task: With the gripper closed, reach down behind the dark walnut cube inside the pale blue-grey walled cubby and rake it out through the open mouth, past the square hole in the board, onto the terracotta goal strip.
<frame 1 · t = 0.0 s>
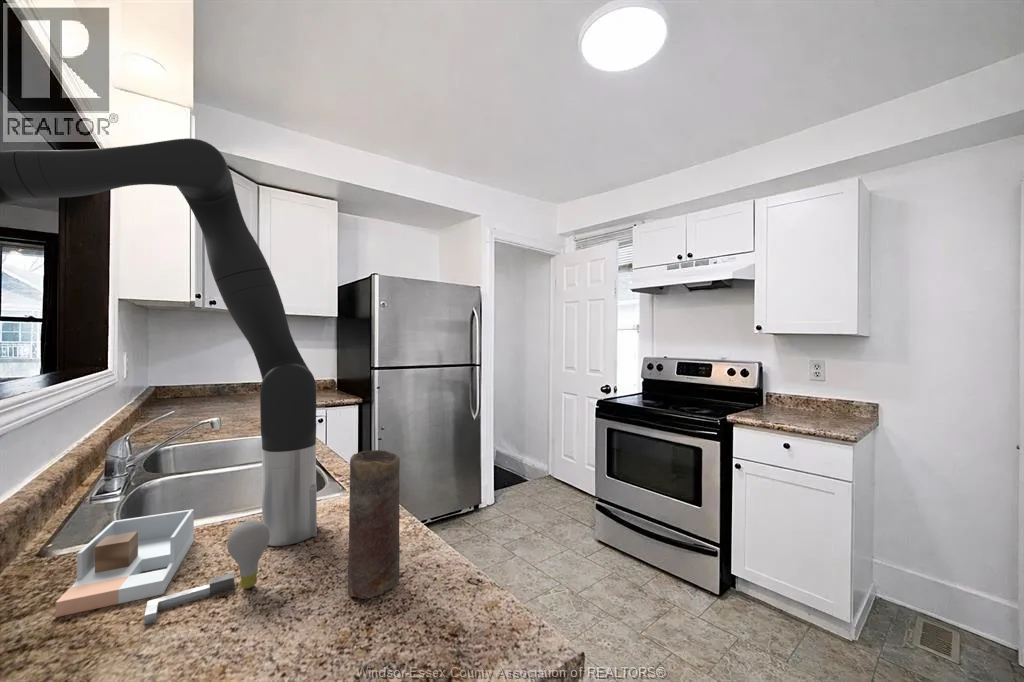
cubby: (134, 574, 67), on the counter
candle: (374, 589, 63), on the counter
walnut cube: (117, 563, 67), point 2 cm above the counter, touching cubby
hook tool: (184, 601, 60), on the counter
light bulb: (248, 589, 63), on the counter
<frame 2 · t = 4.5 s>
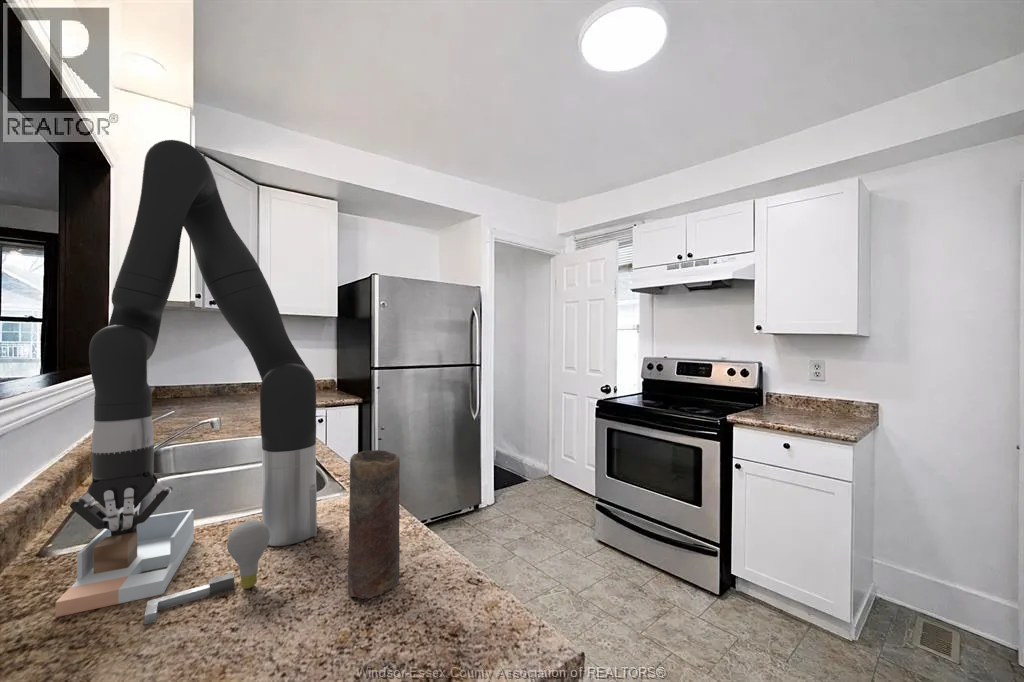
hand: (123, 550, 69), 3 cm above the counter, fingers closed
walnut cube: (116, 564, 66), point 2 cm above the counter, touching cubby, gripper
everything else where it was.
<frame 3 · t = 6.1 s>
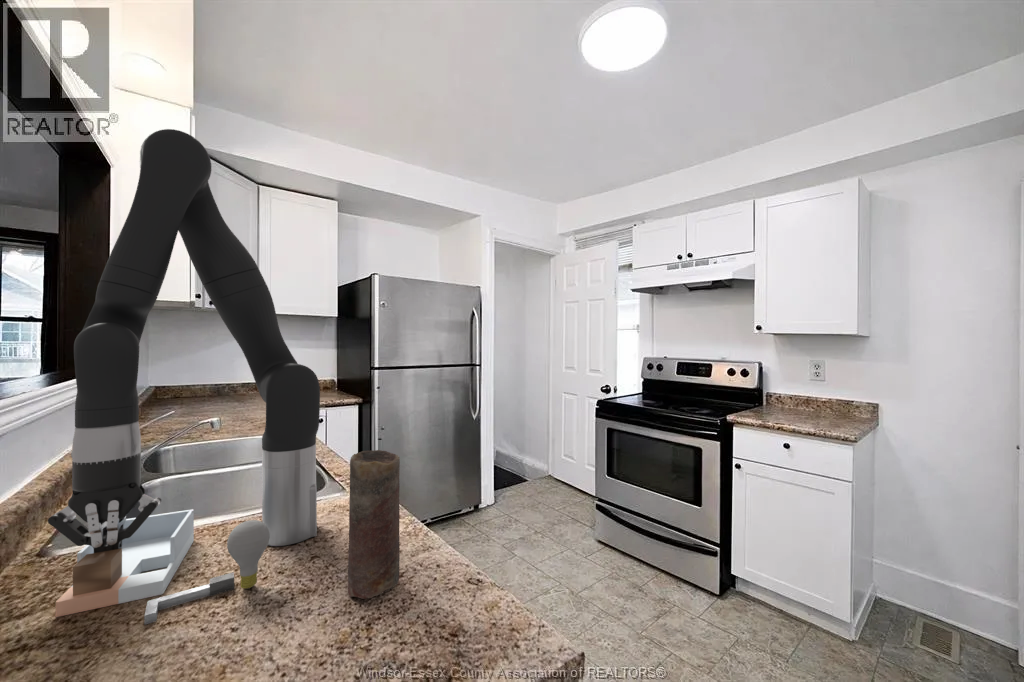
hand: (107, 567, 64), 3 cm above the counter, fingers closed
walnut cube: (98, 585, 61), point 2 cm above the counter, touching cubby, gripper
everything else where it was.
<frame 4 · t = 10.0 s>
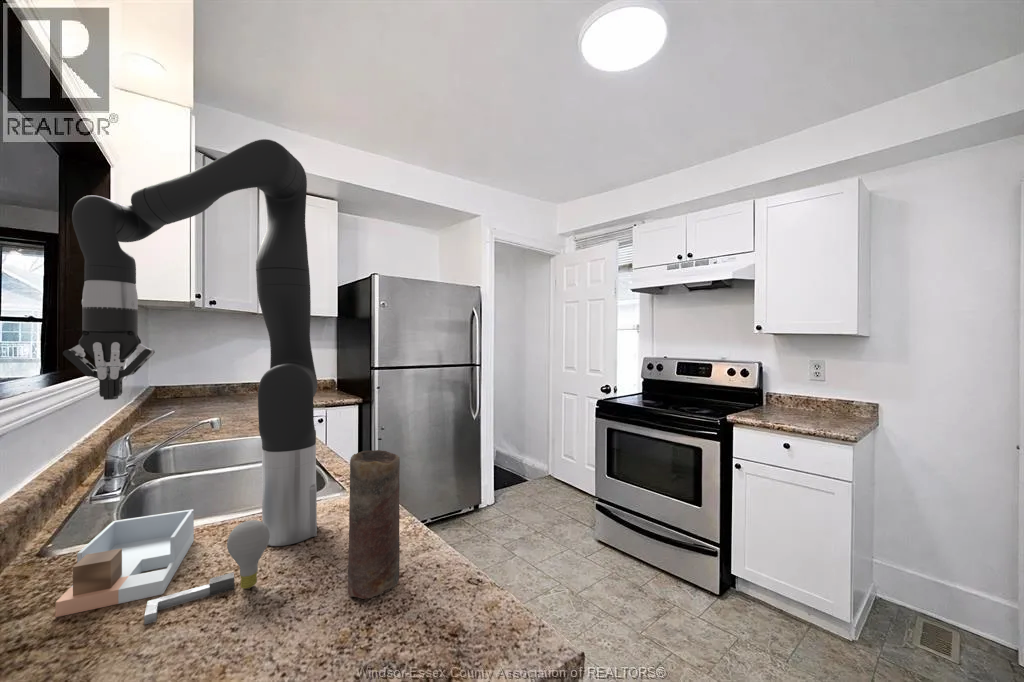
hand: (110, 399, 78), 27 cm above the counter, fingers closed
walnut cube: (98, 585, 61), point 2 cm above the counter, touching cubby
everything else where it was.
at the end: walnut cube inside the target area on the cubby (0.9 cm from its centre), point 2.0 cm above the cubby's base; walnut cube moved 6.6 cm from its start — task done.
